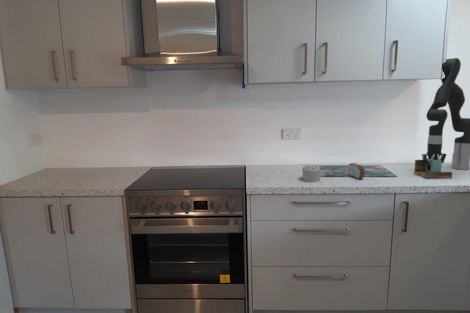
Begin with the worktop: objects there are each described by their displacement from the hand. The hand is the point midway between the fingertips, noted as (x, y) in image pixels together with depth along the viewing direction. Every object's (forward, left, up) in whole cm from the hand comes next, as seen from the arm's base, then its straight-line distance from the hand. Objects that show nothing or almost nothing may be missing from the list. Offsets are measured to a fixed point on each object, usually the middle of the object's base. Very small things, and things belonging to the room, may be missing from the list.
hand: (432, 170), depth 202 cm
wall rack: (-1, 0, -4) cm, 4 cm away
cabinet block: (0, 0, -1) cm, 1 cm away
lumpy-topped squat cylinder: (0, -74, -4) cm, 74 cm away
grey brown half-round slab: (-3, -46, -4) cm, 46 cm away
